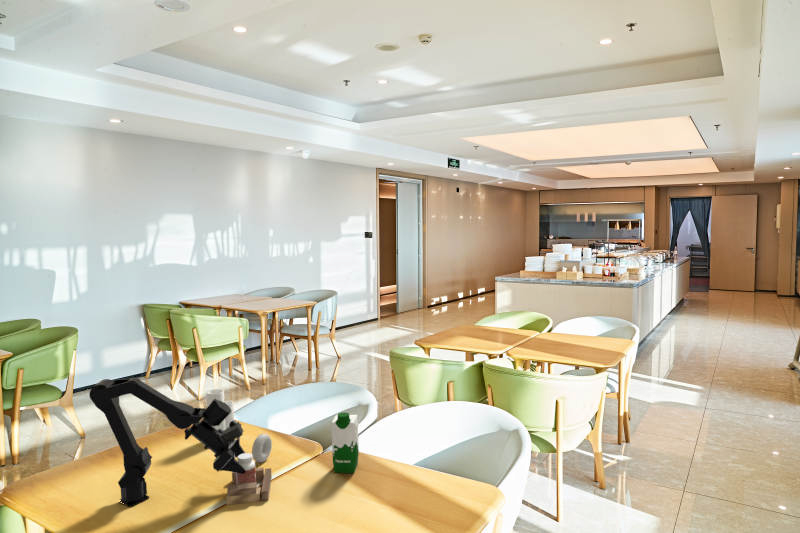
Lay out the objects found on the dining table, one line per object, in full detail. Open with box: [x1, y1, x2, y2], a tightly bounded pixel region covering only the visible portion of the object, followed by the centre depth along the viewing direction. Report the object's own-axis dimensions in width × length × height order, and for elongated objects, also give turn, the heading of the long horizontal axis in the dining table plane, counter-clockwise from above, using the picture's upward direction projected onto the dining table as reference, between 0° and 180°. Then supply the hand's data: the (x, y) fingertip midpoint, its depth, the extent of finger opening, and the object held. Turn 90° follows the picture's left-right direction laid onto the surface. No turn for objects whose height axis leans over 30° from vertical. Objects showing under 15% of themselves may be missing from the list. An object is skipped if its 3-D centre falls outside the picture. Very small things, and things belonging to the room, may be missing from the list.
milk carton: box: [331, 412, 360, 474], centre depth 188 cm, size 9×9×20 cm
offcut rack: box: [225, 467, 273, 505], centre depth 175 cm, size 12×16×4 cm
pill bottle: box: [235, 452, 257, 484], centre depth 175 cm, size 6×6×11 cm
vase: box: [205, 388, 235, 431], centre depth 217 cm, size 11×7×20 cm, turn 160°
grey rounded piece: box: [251, 433, 273, 463], centre depth 196 cm, size 10×4×10 cm, turn 161°
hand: (246, 466), depth 175 cm, fingers open, 9 cm apart
